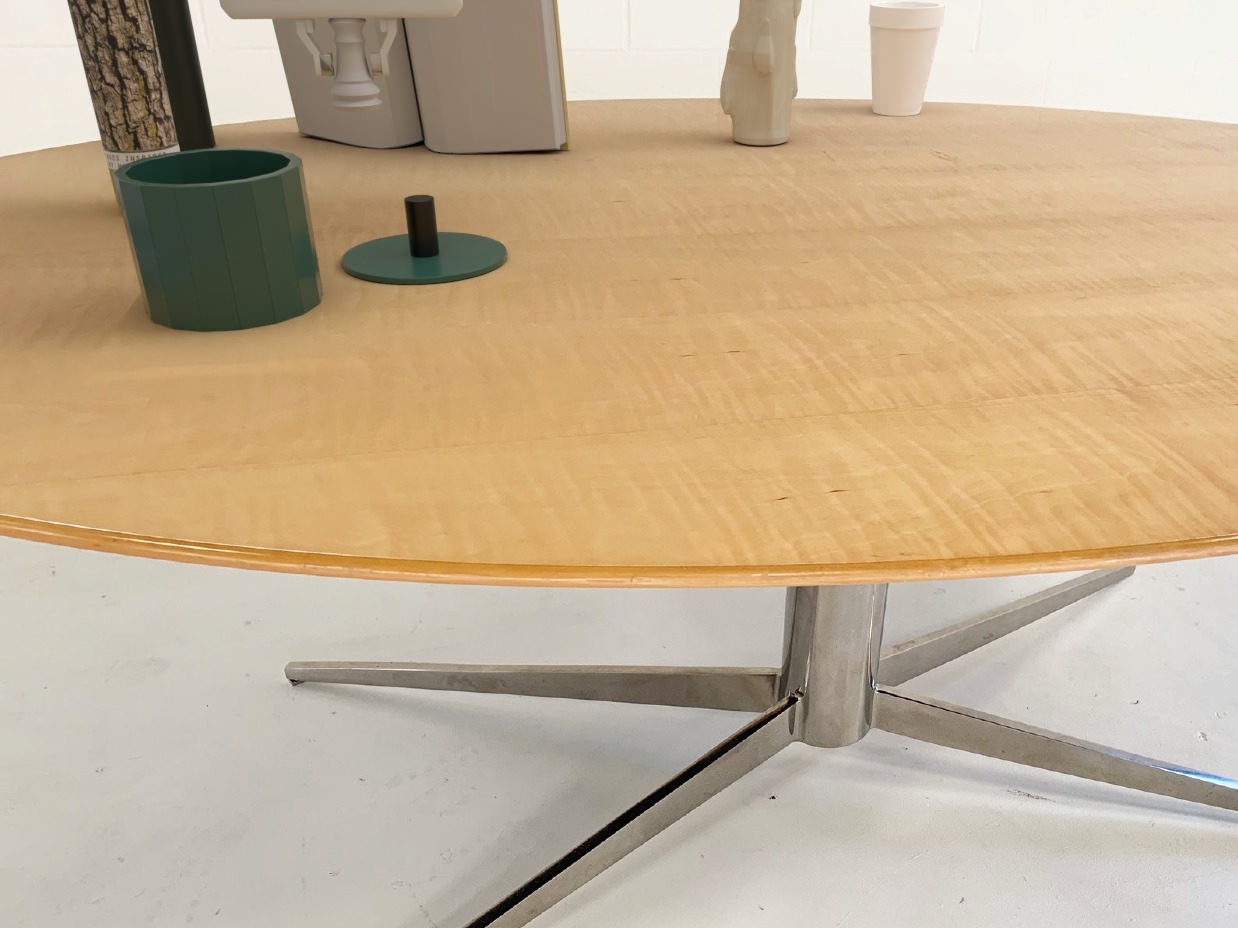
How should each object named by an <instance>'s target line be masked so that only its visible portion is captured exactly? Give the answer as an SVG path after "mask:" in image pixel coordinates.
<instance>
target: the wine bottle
mask: <svg viewBox="0 0 1238 928" xmlns="http://www.w3.org/2000/svg"><path fill="white" fill-rule="evenodd" d="M148 2H149V6H150V11H151V16H152V21H153V25H154V30H155V35H156V40H157V44H158V49H159V54H160V58H161V63H162V68H163V73H164V77H165V82H166V87H167V92H168V96H169V101H170V106H171V110H172V115H173V120H174V125H175V129H176V134H177V139H178V144H179V148H180V151H189V150H198V149H209V148H214V147H216V144H217V143H216V139H215V134H214V133H215V132H214V129H213V122H212V119H211V117H212V116H211V113H210V107H209V102H208V97H207V92H206V87H205V82H204V81H205V80H204V76H203V71H202V65H201V62H200V61H201V60H200V56H199V51H198V44H197V41H196V35H195V29H194V24H193V19H192V15H191V10H190V9H191V8H190V5H189V4H190V3H189V0H148Z"/></svg>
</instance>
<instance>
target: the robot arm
mask: <svg viewBox="0 0 1238 928" xmlns="http://www.w3.org/2000/svg"><path fill="white" fill-rule="evenodd" d="M219 6H220V8H221V10H223V12H224V13H225V14H226V15H227V16H228V17H229V19H231V20H272V19H295V22H296V29H297V34H298V36H299V37H300V39H301V40H302V41H303V43H304V44H305V46H306V47H307V49H308V50H309V52H310V53H311V55H313V57H314V64H315V72H316V76H317V77H322V76H323V77H325V76H334V66H333V64H332V62H333V56H332V52H322V50H321V49H320V47H319V46H318V44H317V42H316V41H315V39H314V38H313V36H312V35H311V33H313V32H314V30H315V29H316V28H315V19H331V18H379V22H380V31H381V32H388V33H387V35H386V38H385V40H384V42H383V45H382V47H381V49H380V52H370V63H371V64H372V67H371V72H372V76H389V63H388V52H389V50H390V48H391V45H392V43H393V41H394V38H395V36H396V34H397V31H398V27H397V18H444V17H455V16H457V14H458V13H459V12H460V10H461V9H462V7H463V0H219Z"/></svg>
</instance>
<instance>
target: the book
mask: <svg viewBox="0 0 1238 928" xmlns="http://www.w3.org/2000/svg"><path fill="white" fill-rule="evenodd" d="M559 15H560V14H559V5H558V0H463V7H462V9H461V10H460V12H459V13H458V14H457V16H455V17H444V18H397V27H398V31H397V34H396V36H395V38H394V41H393V43H392V45H391V48H390V50H389V52H388V63H389V76H372V72H371V67H372V64H371V63H370V52H380V49H381V47H382V45H383V42H384V40H385V38H386V35H387V33H388V32H381V31H380V22H379V18H364V19H365V20H366V23H365V25H364V27H363V29H362V34H363V37H364V38H365V40H366V41H365V43H364V49H365V55H366V60H367V64H368V68H369V71H370V74H371V76H372V77H373V78H374V79H373V82H374V83H375V84H376V85H377V86H378V87H379V90H380V93H379V94H378V96H377V98H378V99H379V100H381V101H382V103H381V105H380V107H379V108H378V109H376V110H373V111H365V112H343V111H338V110H336V109H335V108H334V106H333V105H332V104H331V103H332V102H333V100H334V99H335V97H334V96H333V95H332V94H331V93H330V92H331V87H332V86H333V84H334V83H335V80H334V78H335V77H336V70H337V52H336V44H335V43H334V42H333V39H334V38H335V33H334V29H333V28H332V27H331V25H330V24H329V23H328V20H329V19H315V28H316V29H315V30H314V32H313V33H311V35H312V36H313V38H314V39H315V41H316V42H317V44H318V46H319V47H320V49H321V50H322V52H332V56H333V62H332V64H333V66H334V76H325V77H323V76H322V77H317V76H316V72H315V64H314V57H313V55H311V53H310V52H309V50H308V49H307V47H306V46H305V44H304V43H303V41H302V40H301V39H300V37H299V36H298V34H297V29H296V22H295V19H271V21H272V25H273V29H274V34H275V38H276V42H277V46H278V50H279V54H280V59H281V62H282V67H283V71H284V75H285V79H286V84H287V87H288V92H289V96H290V100H291V103H292V108H293V113H294V116H295V120H296V125H297V128H298V129H297V133H298V134H302V135H307V136H310V137H315V138H320V139H325V140H329V141H333V142H337V143H342V144H346V145H351V146H355V147H358V148H366V149H367V148H368V149H375V150H383V149H384V150H386V149H396V148H401V147H406V146H410V145H413V144H416V143H419V142H420V143H421V142H423V141H424V145H425V147H426V148H427V149H428V150H429V151H432V152H434V153H438V152H440V153H438V154H445V155H447V154H446V153H449V154H448V155H454V154H455V155H468V154H472V155H473V154H489V153H490V154H492V153H494V154H495V153H513V152H514V153H515V152H533V151H535V152H536V151H554V150H555V151H556V150H558V151H570V150H571V149H572V144H571V132H570V122H569V113H568V112H569V111H568V102H567V92H566V91H567V90H566V81H565V69H564V59H563V58H564V57H563V47H562V35H561V27H560V17H559ZM451 153H452V154H451Z"/></svg>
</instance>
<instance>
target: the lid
mask: <svg viewBox="0 0 1238 928" xmlns="http://www.w3.org/2000/svg"><path fill="white" fill-rule="evenodd" d="M403 202H404V210H405V219H406V229H407V233H402V234H395V235H389V236H384V237H379V238H375V239H371V240H368V241H366V242H362V243H360V244H357V245H355V246H353V247H351V248H349V249H348V250H347V251H345V253H344V254H343V255H342V257H341V265H342V268H343V270H344V271H345V272H346V273H347V274H349V275H350V276H352V277H355V278H357V279H361V280H365V281H369V282H374V283H381V284H389V285H390V284H391V285H429V284H441V283H449V282H455V281H456V282H457V281H461V280H466V279H470V278H474V277H478V276H481V275H484V274H487V273H490V272H492V271H494V270H496V269H498V268H499V267H501V266H502V265H504V264H505V262H506V261H507V259H508V249H507V247H506V246H505V245H504V243H502V242H500V241H498V240H496V239H494V238H491V237H488V236H485V235H484V236H483V235H480V234H473V233H468V232H467V233H466V232H453V231H438V224H437V223H438V222H437V215H436V204H435V197H434V196H433V195H429V194H414V195H409V196H406V197H404V198H403Z"/></svg>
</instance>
